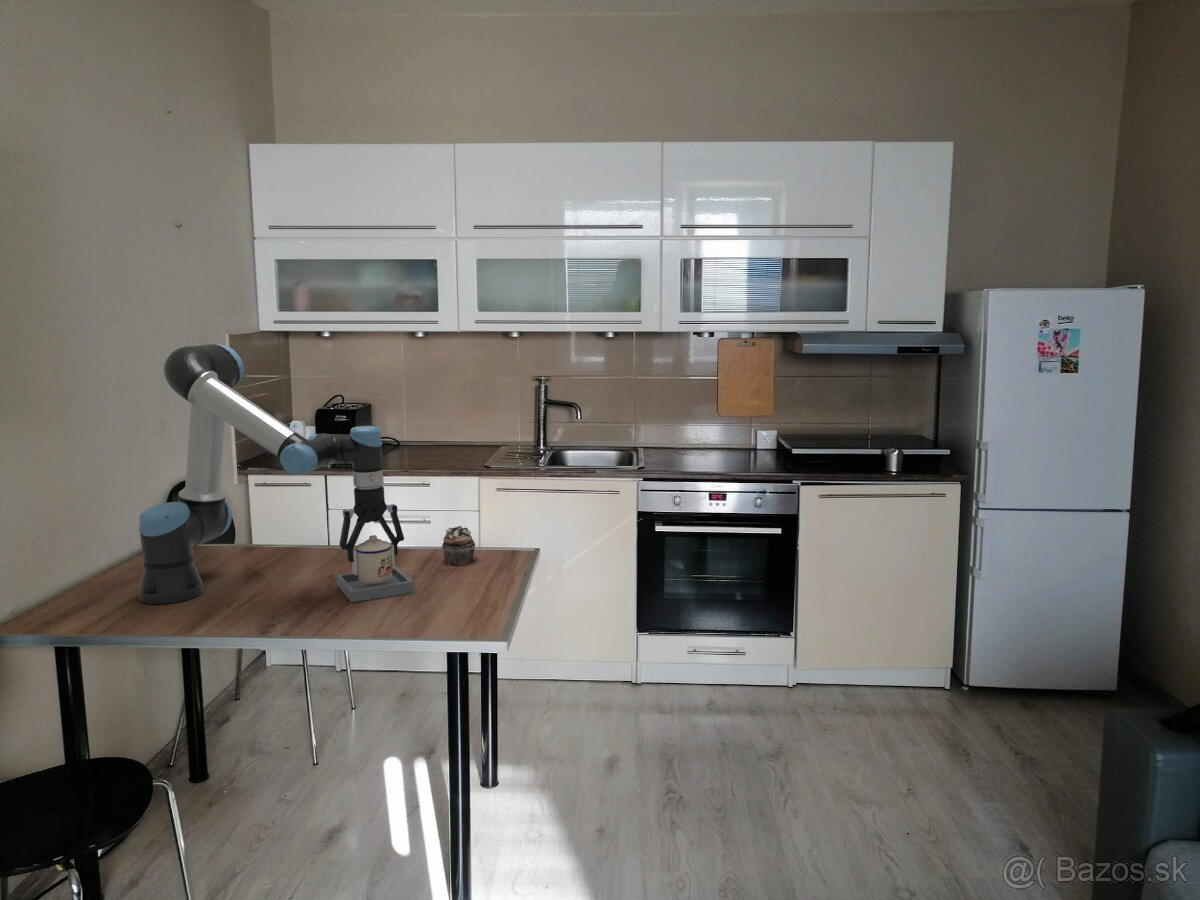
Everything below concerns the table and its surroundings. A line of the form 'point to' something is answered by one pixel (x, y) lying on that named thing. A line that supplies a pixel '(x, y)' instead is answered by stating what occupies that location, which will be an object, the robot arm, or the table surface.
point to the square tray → (374, 586)
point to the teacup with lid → (374, 561)
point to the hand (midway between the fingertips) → (373, 570)
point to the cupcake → (458, 546)
